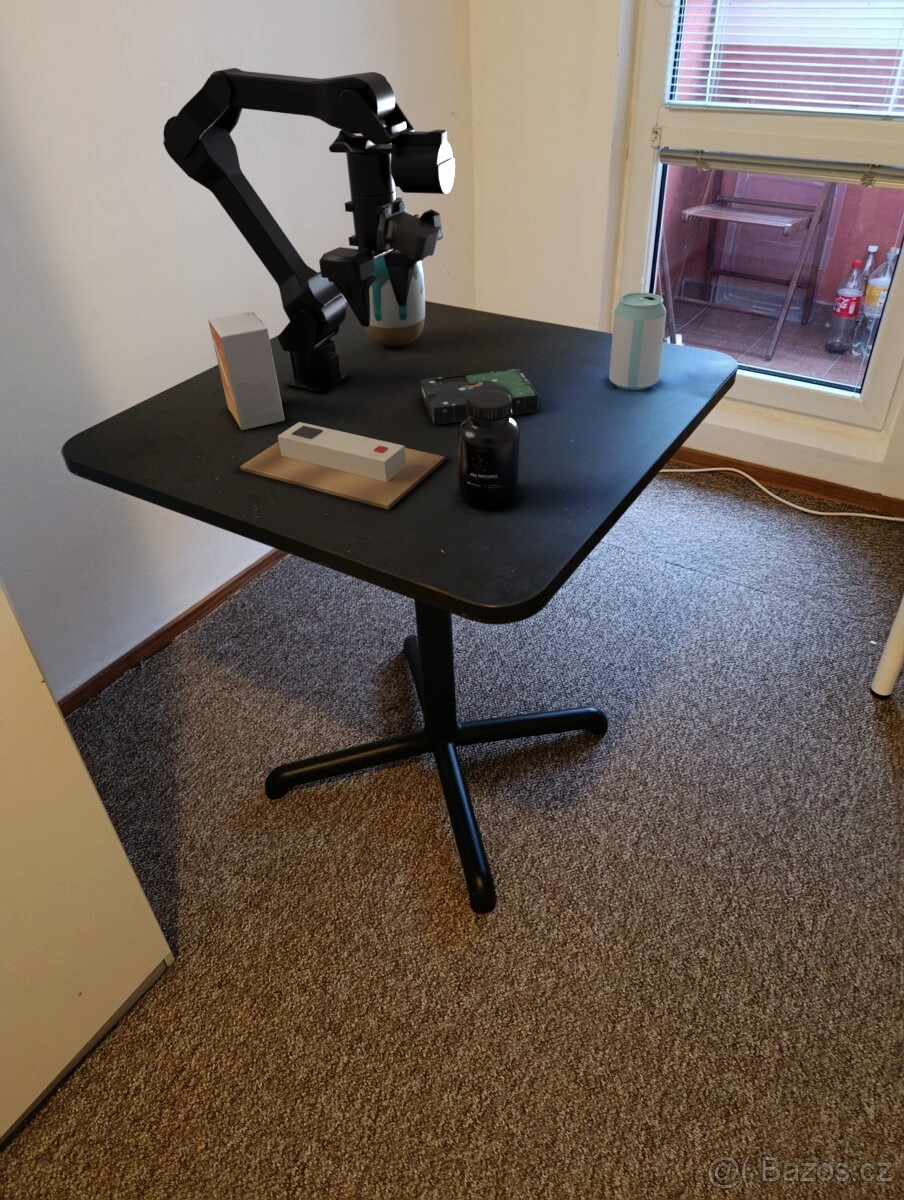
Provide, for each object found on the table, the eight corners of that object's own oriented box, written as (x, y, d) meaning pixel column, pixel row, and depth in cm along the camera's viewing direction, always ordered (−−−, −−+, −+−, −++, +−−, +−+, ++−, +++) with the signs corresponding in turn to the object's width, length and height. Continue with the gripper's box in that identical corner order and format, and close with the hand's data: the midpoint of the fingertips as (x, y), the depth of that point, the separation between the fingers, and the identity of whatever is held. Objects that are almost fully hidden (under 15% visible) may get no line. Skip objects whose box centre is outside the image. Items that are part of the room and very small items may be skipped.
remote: (281, 455, 102) (277, 434, 100) (302, 441, 105) (298, 420, 103) (387, 482, 95) (384, 459, 94) (406, 466, 98) (404, 444, 97)
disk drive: (434, 428, 108) (540, 412, 110) (432, 408, 107) (540, 393, 109) (420, 397, 116) (519, 383, 118) (418, 379, 115) (519, 365, 117)
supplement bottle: (474, 517, 89) (471, 417, 82) (450, 490, 94) (445, 393, 87) (529, 503, 91) (531, 404, 84) (502, 477, 97) (502, 381, 89)
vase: (363, 334, 138) (350, 213, 126) (424, 329, 138) (417, 208, 127) (364, 357, 129) (350, 229, 118) (430, 352, 130) (422, 224, 118)
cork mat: (240, 470, 101) (239, 466, 100) (304, 428, 109) (304, 424, 109) (388, 509, 92) (388, 505, 91) (445, 460, 100) (444, 456, 100)
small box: (227, 409, 115) (206, 318, 107) (270, 400, 117) (253, 310, 109) (240, 431, 110) (219, 336, 102) (285, 421, 111) (268, 327, 104)
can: (611, 371, 121) (618, 289, 113) (659, 374, 119) (669, 291, 112) (605, 390, 115) (612, 305, 108) (656, 393, 114) (666, 307, 106)
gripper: (386, 212, 92) (397, 346, 102) (463, 181, 105) (467, 302, 115) (308, 206, 97) (326, 334, 107) (392, 176, 110) (401, 293, 119)
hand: (384, 315), depth 112 cm, fingers open, 9 cm apart
